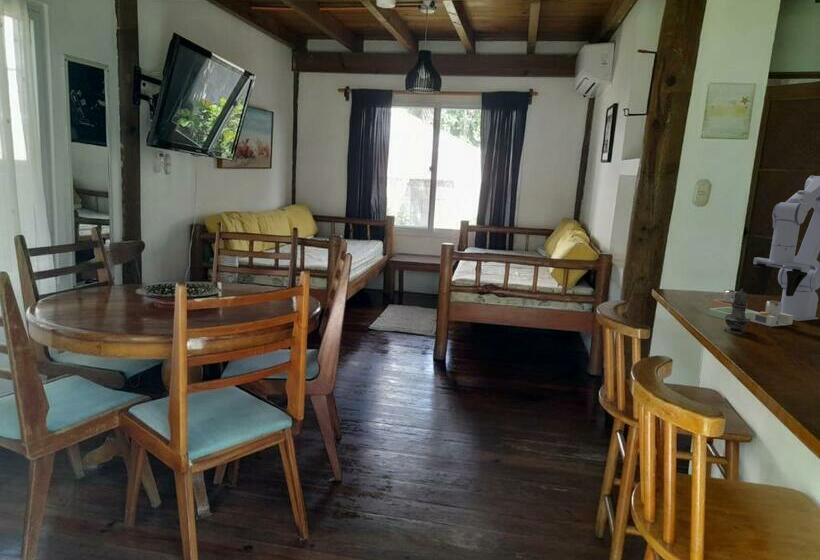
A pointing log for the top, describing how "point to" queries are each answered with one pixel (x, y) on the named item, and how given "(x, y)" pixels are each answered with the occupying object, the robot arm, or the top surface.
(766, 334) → the top surface
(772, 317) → the cradle
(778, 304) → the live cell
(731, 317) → the grey chess piece
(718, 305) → the cup
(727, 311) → the trough
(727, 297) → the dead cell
